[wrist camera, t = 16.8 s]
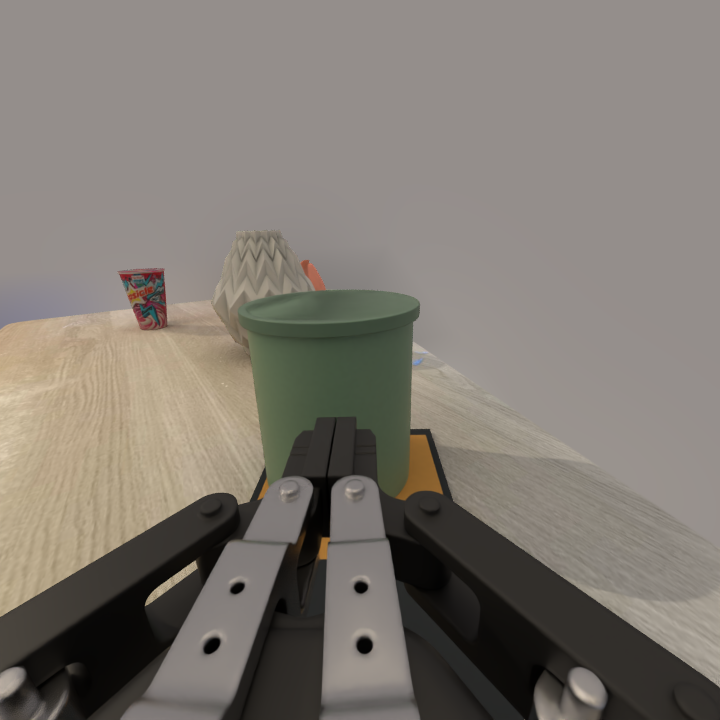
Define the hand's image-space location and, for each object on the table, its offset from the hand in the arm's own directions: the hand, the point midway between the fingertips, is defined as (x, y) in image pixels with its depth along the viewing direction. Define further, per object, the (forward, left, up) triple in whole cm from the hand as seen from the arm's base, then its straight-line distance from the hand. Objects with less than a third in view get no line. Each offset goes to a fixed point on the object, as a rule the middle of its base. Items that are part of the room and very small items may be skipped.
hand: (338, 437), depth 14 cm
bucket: (+8, -9, -10) cm, 15 cm away
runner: (-1, +2, -10) cm, 11 cm away
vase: (+36, -27, -10) cm, 47 cm away
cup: (+71, -25, -10) cm, 76 cm away
